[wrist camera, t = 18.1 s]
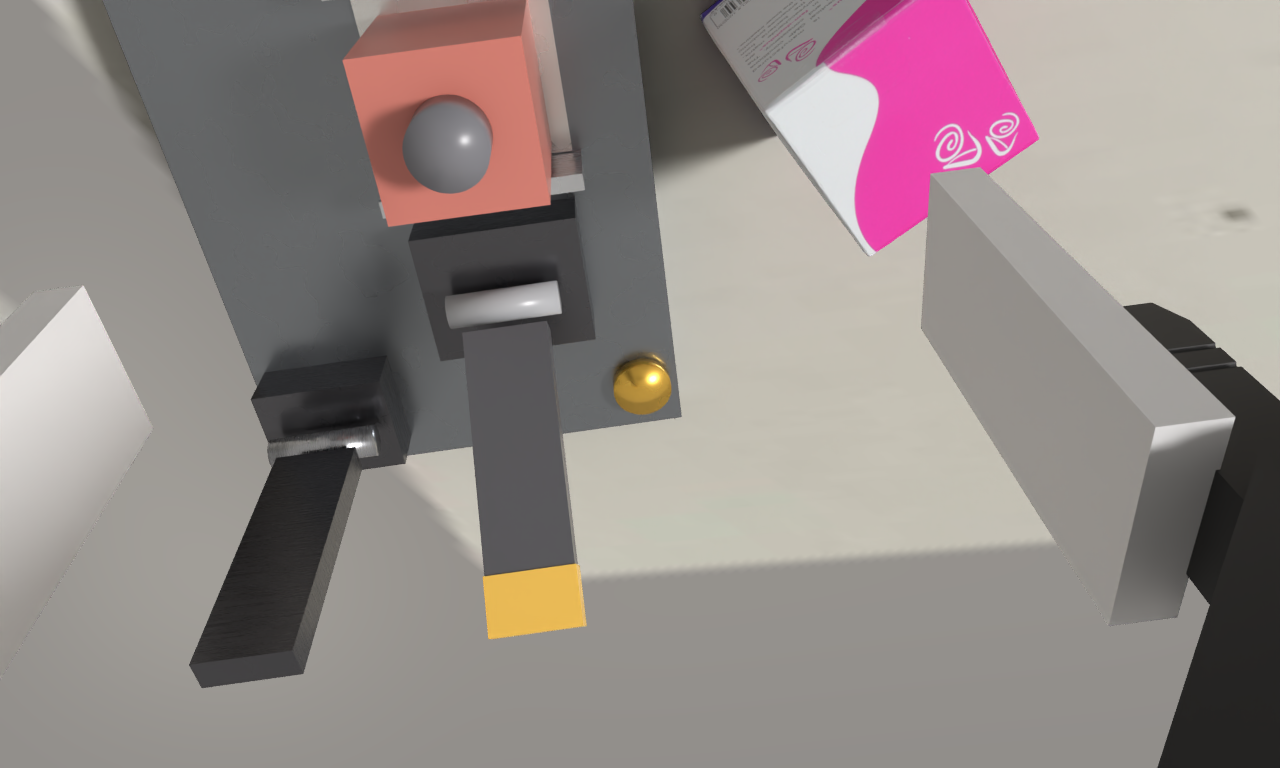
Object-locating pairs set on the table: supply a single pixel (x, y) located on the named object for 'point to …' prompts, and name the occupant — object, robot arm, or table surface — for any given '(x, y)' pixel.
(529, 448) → the switch lever
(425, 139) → the cap
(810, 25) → the supplement box
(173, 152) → the metal switch board
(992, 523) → the table surface
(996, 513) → the table surface
